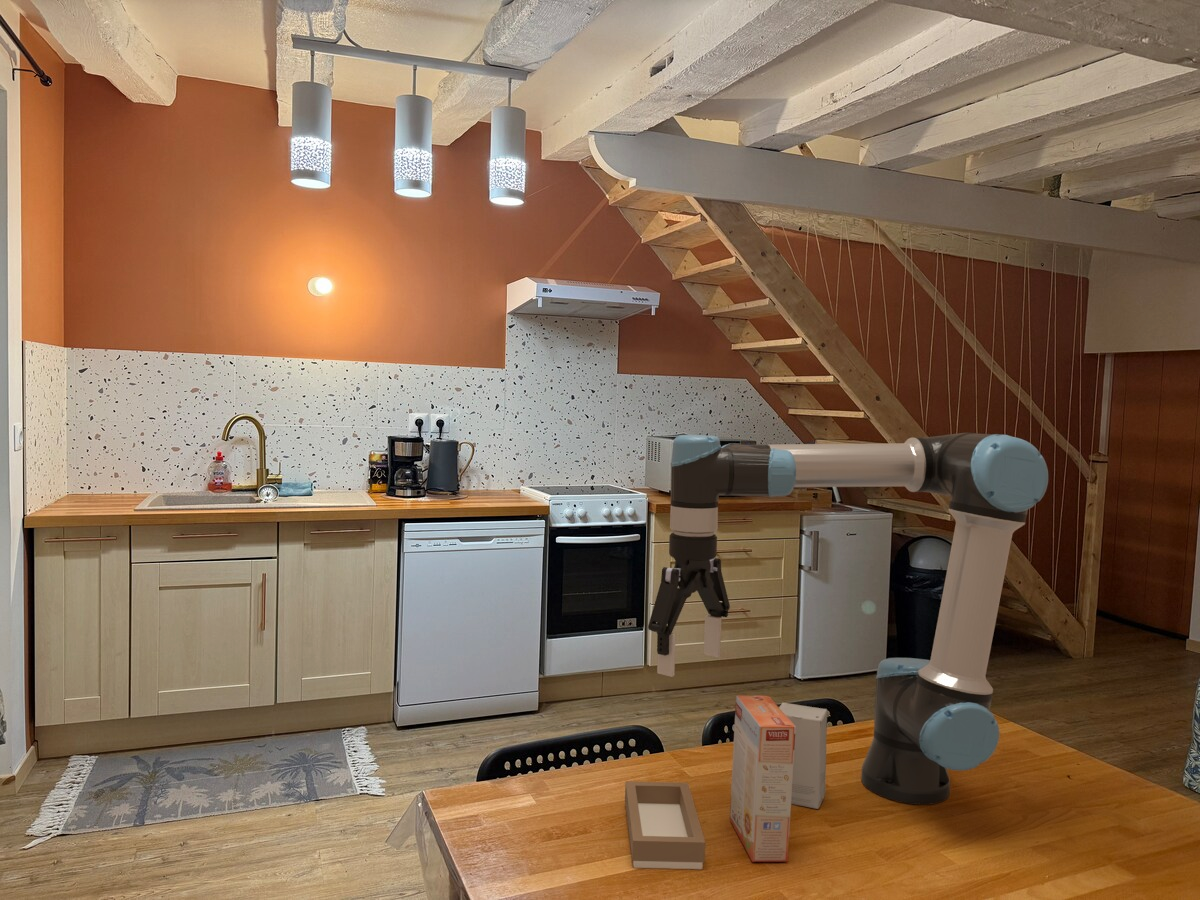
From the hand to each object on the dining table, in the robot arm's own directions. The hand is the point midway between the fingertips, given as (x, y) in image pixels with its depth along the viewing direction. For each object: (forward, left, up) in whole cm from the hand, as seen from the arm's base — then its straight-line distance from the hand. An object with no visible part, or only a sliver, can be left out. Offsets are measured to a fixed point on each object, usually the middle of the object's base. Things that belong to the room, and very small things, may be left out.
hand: (689, 664), depth 141 cm
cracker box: (-11, +5, -26) cm, 29 cm away
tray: (+4, +4, -26) cm, 27 cm away
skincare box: (-21, -10, -26) cm, 35 cm away
